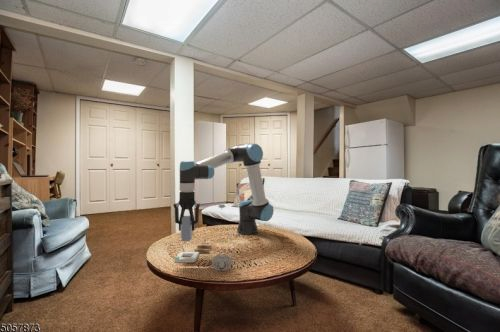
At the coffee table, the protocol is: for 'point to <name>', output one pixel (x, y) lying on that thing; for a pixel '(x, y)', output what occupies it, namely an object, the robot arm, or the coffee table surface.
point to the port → (186, 259)
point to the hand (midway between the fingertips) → (186, 236)
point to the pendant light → (221, 258)
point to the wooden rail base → (203, 249)
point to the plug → (186, 228)
